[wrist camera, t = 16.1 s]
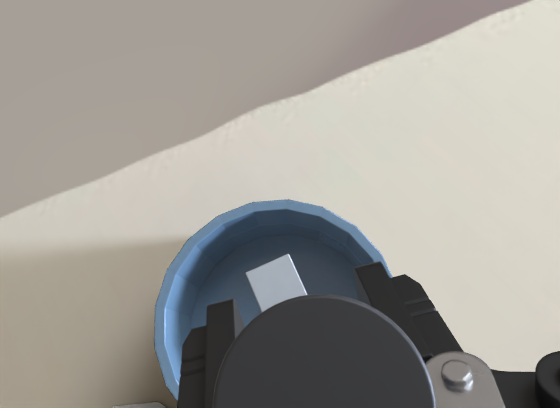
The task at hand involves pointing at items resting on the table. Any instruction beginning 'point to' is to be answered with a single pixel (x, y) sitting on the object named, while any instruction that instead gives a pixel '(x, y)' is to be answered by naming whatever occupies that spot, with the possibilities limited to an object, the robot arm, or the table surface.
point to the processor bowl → (253, 267)
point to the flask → (142, 405)
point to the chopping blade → (318, 352)
